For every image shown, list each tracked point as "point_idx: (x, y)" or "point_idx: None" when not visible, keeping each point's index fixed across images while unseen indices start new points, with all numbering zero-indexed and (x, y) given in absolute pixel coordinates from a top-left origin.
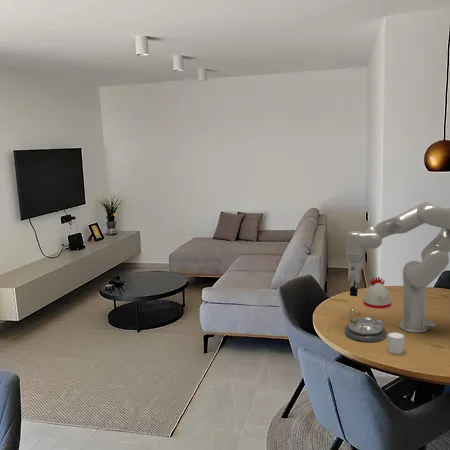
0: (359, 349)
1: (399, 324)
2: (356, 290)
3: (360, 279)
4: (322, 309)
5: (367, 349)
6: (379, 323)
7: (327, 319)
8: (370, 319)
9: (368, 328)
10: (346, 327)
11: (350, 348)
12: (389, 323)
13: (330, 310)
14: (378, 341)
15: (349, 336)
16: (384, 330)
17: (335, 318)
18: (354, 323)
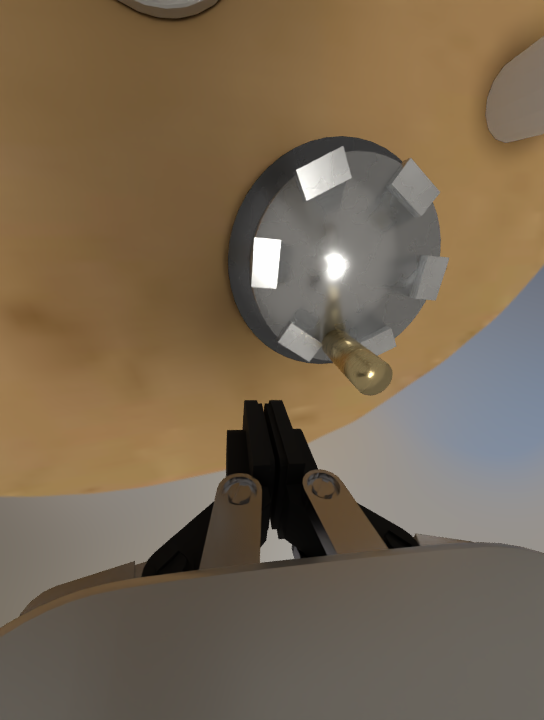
0: (479, 283)
1: (161, 4)
2: (295, 445)
3: (281, 602)
4: (58, 484)
5: (483, 249)
6: (347, 174)
7: (183, 442)
8: (278, 240)
9: (416, 250)
10: (312, 359)
11: (467, 318)
12: (120, 103)
13: (53, 454)
14: None
15: None
16: (327, 148)
17: (157, 416)
18: (347, 331)
